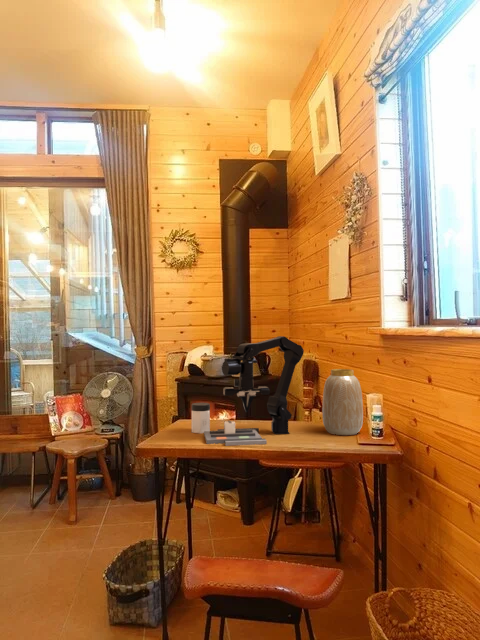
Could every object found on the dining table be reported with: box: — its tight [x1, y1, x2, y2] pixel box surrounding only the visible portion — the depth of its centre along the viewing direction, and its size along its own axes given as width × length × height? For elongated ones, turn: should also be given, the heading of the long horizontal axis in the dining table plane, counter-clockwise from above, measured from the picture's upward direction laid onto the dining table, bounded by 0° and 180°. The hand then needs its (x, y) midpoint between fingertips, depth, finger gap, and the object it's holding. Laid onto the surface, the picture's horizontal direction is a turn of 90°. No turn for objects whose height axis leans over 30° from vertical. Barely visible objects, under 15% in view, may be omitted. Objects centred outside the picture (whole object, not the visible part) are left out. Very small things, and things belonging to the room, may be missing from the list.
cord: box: [216, 427, 260, 433], centre depth 196 cm, size 18×1×1 cm, turn 98°
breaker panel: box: [203, 429, 263, 445], centre depth 185 cm, size 22×16×2 cm
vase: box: [321, 368, 364, 436], centre depth 196 cm, size 17×17×27 cm
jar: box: [191, 402, 211, 434], centre depth 198 cm, size 9×8×12 cm
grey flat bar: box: [224, 438, 268, 447], centre depth 175 cm, size 16×3×1 cm, turn 98°
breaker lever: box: [223, 420, 236, 434], centre depth 185 cm, size 4×4×5 cm
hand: (246, 412), depth 186 cm, fingers closed
